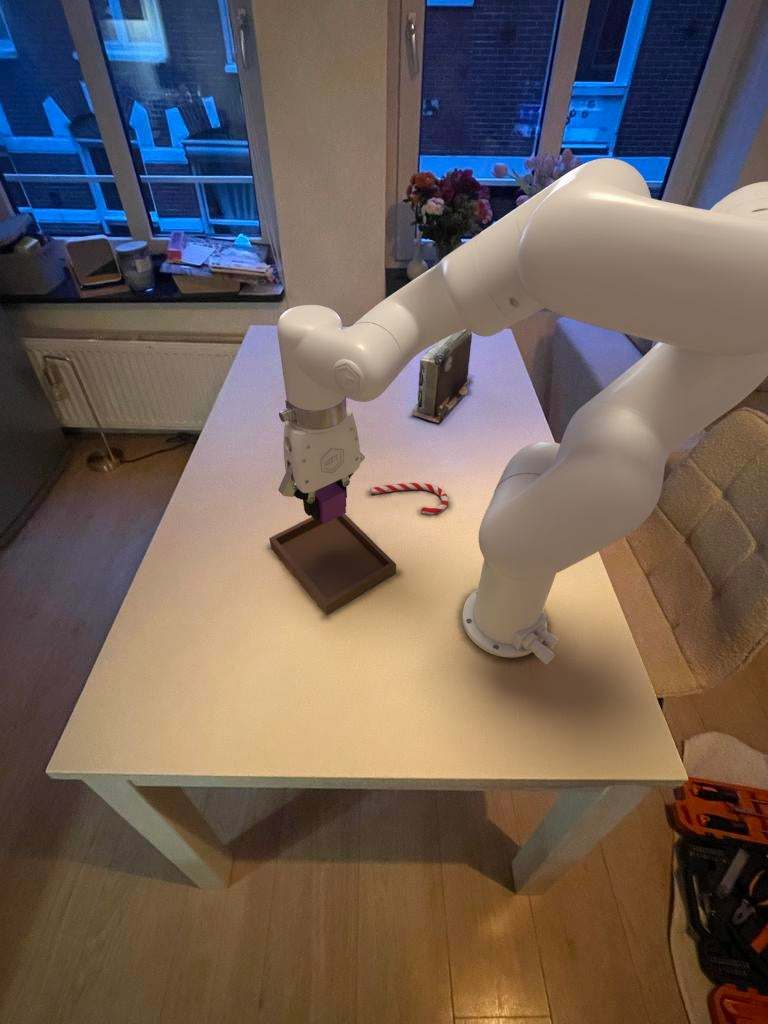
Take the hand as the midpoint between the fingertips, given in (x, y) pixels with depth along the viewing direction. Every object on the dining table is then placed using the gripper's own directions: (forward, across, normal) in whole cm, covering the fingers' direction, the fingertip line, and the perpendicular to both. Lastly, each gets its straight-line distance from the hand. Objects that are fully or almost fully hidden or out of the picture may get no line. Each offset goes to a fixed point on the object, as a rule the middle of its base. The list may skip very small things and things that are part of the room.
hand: (326, 508), depth 80 cm
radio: (+12, +49, +27) cm, 57 cm away
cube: (0, 0, 0) cm, 0 cm away
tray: (+12, 0, 0) cm, 12 cm away
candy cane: (+12, +20, +4) cm, 24 cm away
